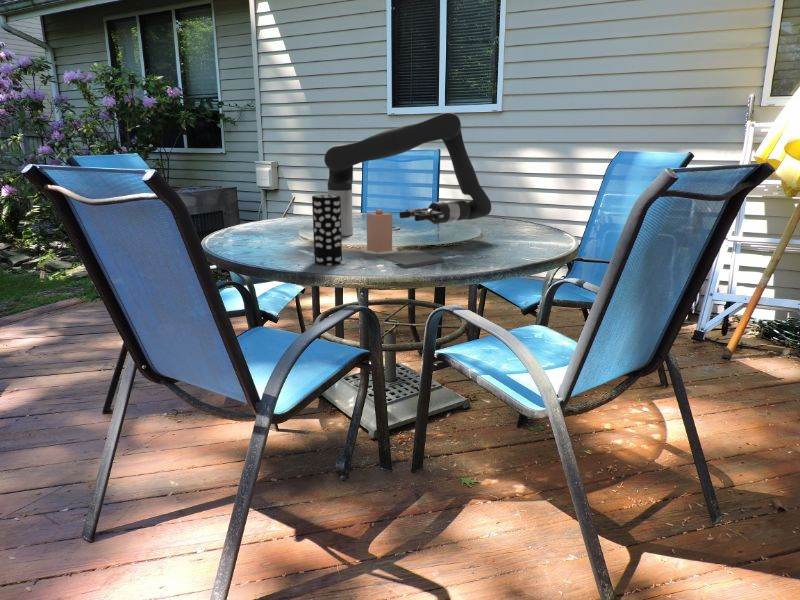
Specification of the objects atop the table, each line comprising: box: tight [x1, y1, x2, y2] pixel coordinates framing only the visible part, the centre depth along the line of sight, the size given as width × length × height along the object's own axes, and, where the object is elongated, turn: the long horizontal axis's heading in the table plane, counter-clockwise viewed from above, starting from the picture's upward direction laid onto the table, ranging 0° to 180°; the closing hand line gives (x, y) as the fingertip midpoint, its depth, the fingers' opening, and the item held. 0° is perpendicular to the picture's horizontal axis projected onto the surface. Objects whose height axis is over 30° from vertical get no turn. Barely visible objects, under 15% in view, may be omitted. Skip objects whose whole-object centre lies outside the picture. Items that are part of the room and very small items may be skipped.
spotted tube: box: [311, 194, 343, 267], centre depth 168 cm, size 8×8×20 cm
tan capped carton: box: [366, 209, 393, 253], centre depth 184 cm, size 6×6×13 cm
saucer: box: [361, 247, 399, 255], centre depth 185 cm, size 12×12×4 cm
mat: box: [376, 250, 445, 269], centre depth 174 cm, size 15×15×1 cm
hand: (407, 216), depth 189 cm, fingers open, 8 cm apart
